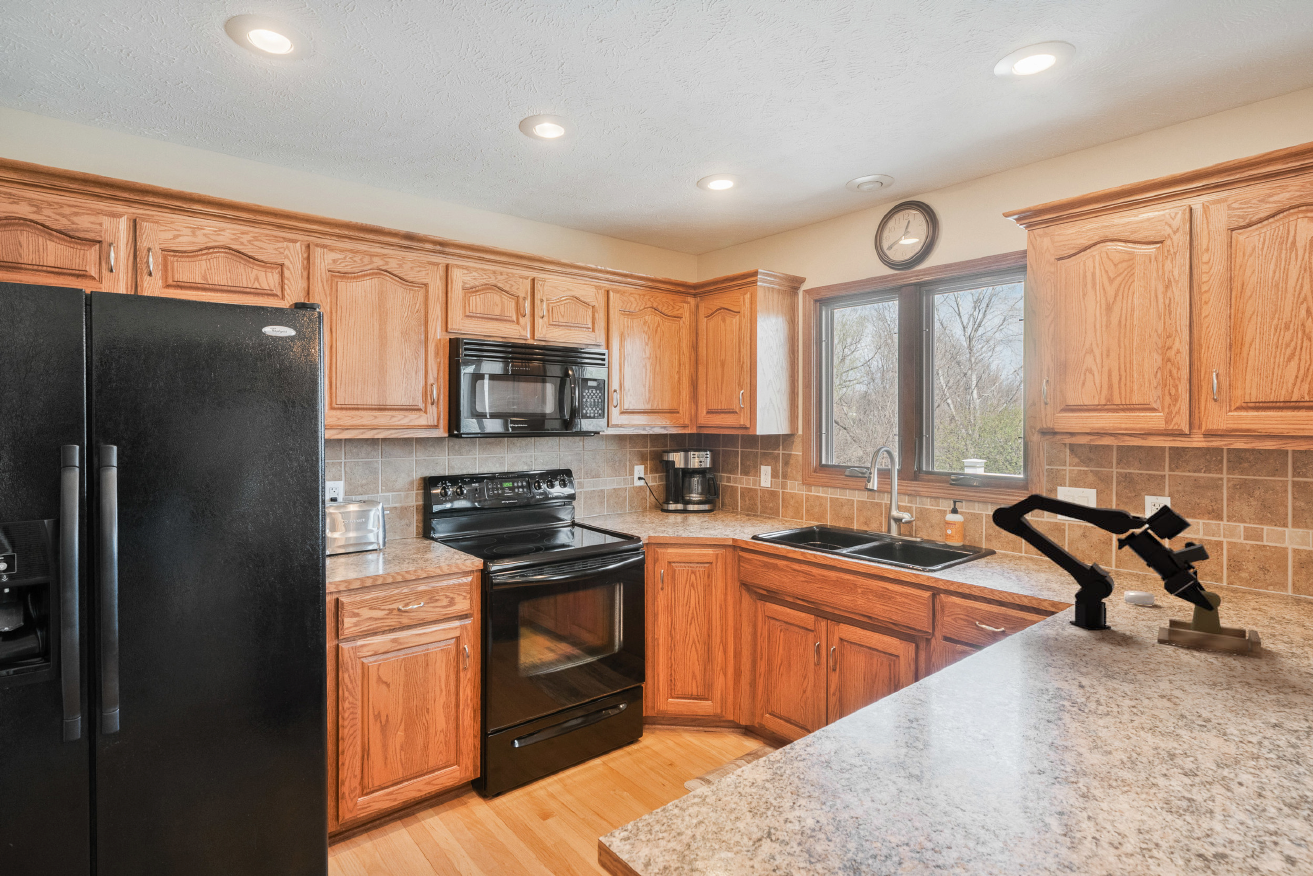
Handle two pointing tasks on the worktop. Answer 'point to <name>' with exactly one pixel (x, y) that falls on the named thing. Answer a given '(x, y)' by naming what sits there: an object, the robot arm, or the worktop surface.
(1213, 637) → the rack
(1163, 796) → the worktop surface
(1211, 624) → the cork
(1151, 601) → the white rounded cylinder
